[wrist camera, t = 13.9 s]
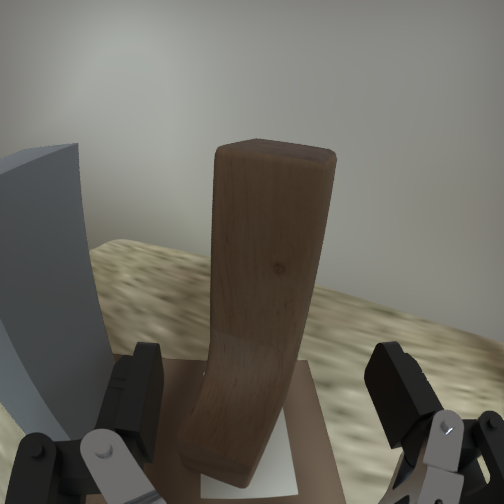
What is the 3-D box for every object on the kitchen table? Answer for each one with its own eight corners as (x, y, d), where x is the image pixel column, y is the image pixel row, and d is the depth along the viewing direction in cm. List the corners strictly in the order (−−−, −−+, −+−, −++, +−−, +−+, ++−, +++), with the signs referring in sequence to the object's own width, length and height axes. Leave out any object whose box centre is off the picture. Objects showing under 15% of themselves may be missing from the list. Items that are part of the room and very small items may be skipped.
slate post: (119, 375, 22) (78, 142, 14) (96, 470, 14) (-36, 192, 6) (77, 369, 22) (24, 149, 13) (46, 456, 14) (-86, 200, 5)
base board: (304, 368, 26) (307, 358, 26) (340, 509, 14) (347, 504, 13) (71, 356, 24) (67, 345, 23) (24, 482, 12) (15, 474, 11)
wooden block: (245, 492, 14) (303, 187, 6) (180, 466, 16) (133, 163, 8) (287, 394, 22) (338, 150, 14) (233, 377, 23) (251, 137, 15)
